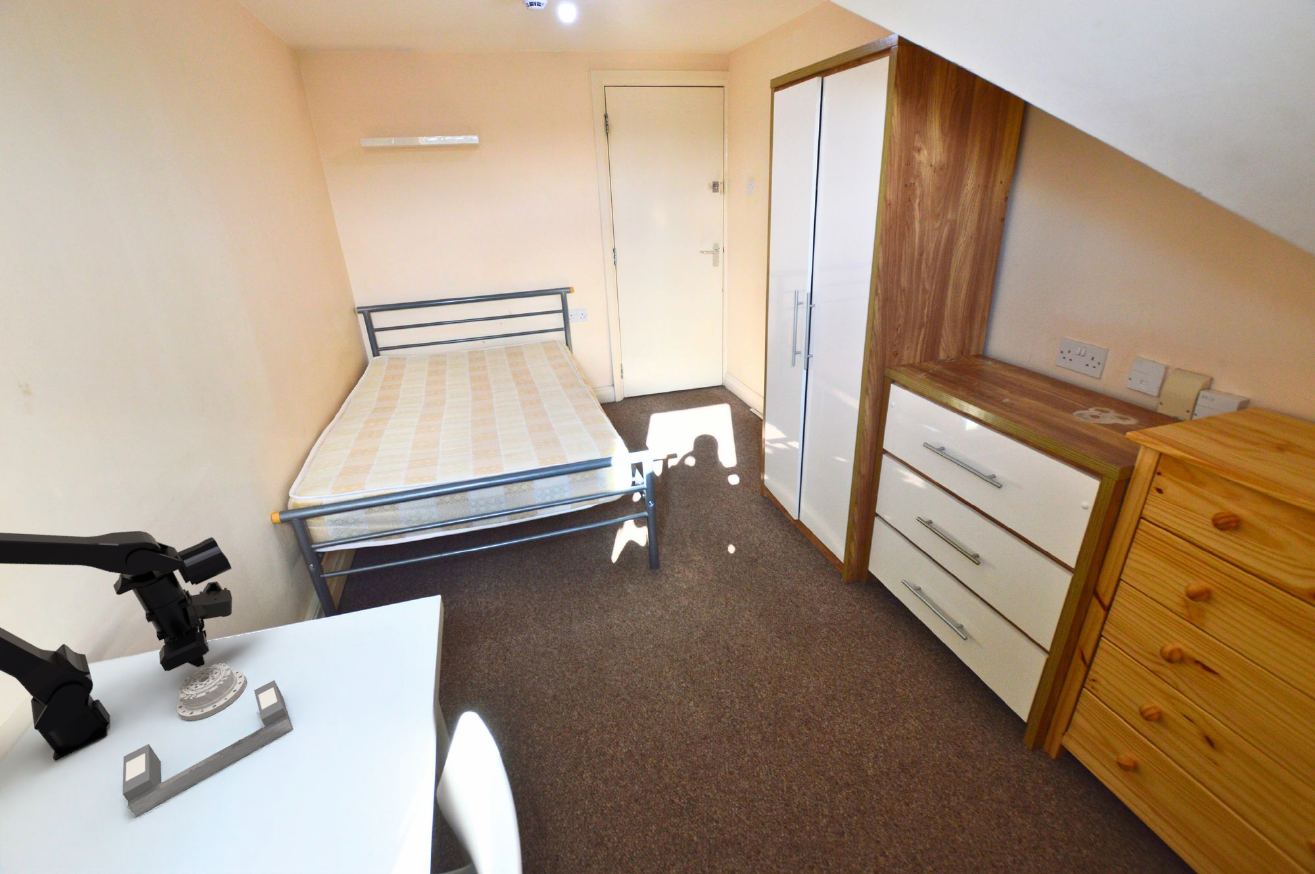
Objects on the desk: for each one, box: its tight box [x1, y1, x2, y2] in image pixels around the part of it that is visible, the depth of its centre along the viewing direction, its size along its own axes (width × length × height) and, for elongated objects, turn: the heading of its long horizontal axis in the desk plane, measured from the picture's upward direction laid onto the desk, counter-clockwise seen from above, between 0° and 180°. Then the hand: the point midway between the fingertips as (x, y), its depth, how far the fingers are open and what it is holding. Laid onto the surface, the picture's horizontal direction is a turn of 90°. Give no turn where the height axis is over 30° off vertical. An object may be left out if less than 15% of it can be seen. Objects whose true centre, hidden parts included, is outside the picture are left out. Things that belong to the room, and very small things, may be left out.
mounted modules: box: [122, 679, 292, 802], centre depth 89 cm, size 20×8×4 cm, turn 130°
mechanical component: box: [175, 662, 247, 721], centre depth 99 cm, size 10×4×10 cm
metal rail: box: [127, 715, 294, 818], centre depth 86 cm, size 20×1×2 cm, turn 131°
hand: (201, 664), depth 106 cm, fingers closed
